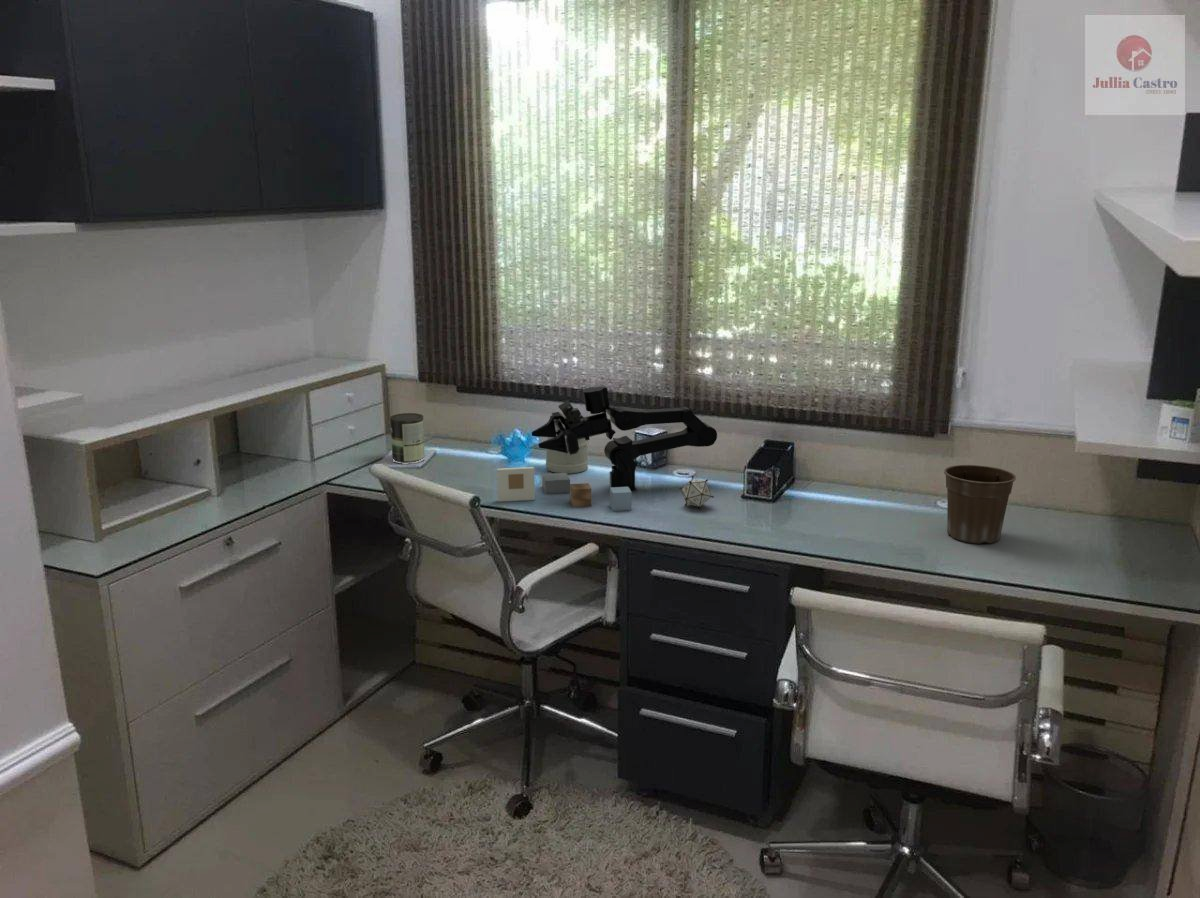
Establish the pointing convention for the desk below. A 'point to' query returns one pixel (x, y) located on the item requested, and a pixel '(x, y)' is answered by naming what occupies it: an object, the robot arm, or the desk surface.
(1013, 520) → the desk surface
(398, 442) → the coffee can
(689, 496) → the game die
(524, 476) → the plaque
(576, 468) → the jar
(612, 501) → the slate blue cube
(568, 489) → the base block
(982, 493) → the plant pot
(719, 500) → the desk surface
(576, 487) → the walnut cube
